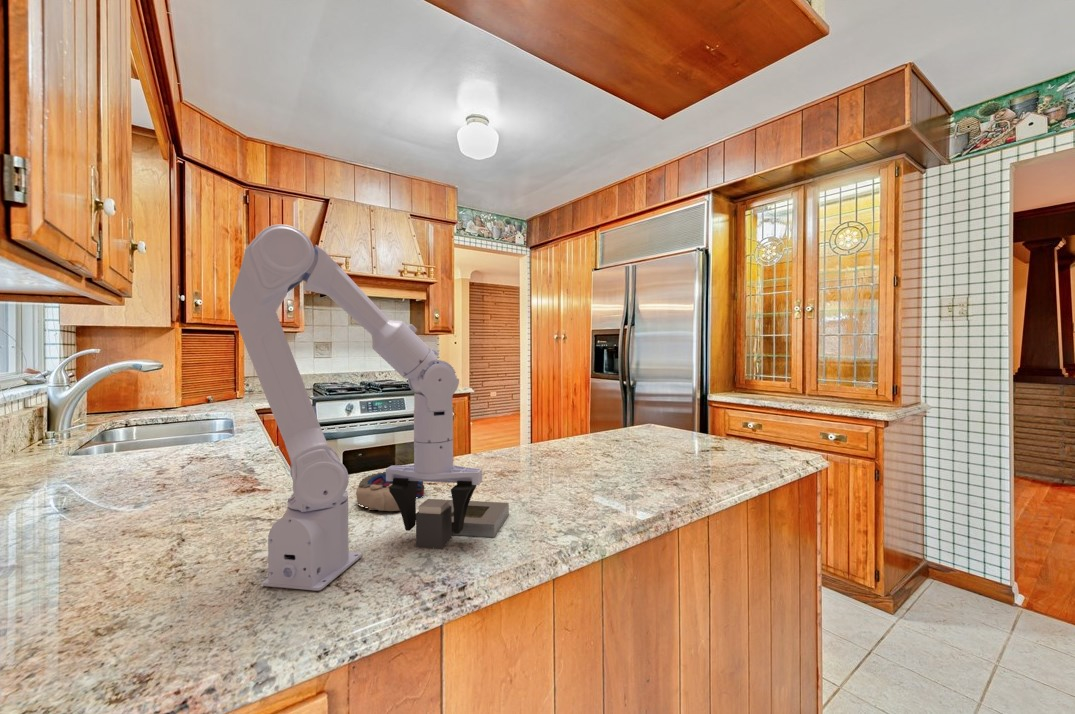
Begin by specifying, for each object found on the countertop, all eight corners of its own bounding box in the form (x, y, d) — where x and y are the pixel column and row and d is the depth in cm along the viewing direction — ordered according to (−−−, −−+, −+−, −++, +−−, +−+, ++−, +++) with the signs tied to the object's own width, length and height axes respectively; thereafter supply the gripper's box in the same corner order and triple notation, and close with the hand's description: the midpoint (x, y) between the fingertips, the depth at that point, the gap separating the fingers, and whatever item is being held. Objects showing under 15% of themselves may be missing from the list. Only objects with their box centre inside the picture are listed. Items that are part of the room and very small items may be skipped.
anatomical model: (429, 488, 95) (429, 466, 95) (411, 516, 78) (411, 489, 78) (372, 489, 94) (372, 467, 94) (341, 517, 78) (341, 490, 78)
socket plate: (494, 537, 69) (494, 520, 69) (426, 533, 70) (426, 516, 70) (508, 514, 78) (508, 499, 78) (449, 510, 80) (449, 496, 80)
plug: (442, 549, 65) (441, 508, 65) (416, 547, 65) (415, 506, 65) (451, 538, 69) (451, 499, 69) (427, 536, 69) (426, 498, 69)
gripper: (487, 435, 70) (488, 522, 70) (400, 433, 72) (401, 517, 72) (474, 445, 63) (474, 541, 63) (378, 442, 65) (379, 534, 65)
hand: (434, 529), depth 67 cm, fingers open, 7 cm apart
